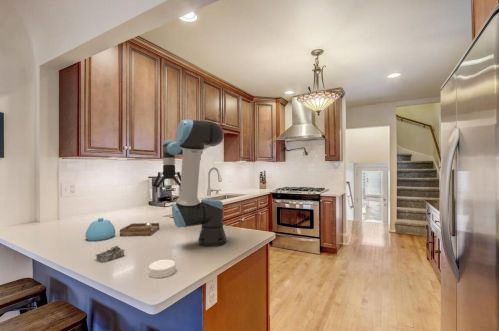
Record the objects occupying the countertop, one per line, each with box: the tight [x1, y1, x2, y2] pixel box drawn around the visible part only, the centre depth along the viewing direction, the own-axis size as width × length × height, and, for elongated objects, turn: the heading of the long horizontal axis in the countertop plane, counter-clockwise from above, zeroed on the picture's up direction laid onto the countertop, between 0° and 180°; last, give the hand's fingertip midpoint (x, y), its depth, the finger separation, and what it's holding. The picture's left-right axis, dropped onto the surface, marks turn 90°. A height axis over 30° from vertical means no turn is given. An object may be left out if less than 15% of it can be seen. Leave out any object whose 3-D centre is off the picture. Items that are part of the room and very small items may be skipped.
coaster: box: [148, 259, 177, 279], centre depth 96 cm, size 10×10×4 cm
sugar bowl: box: [84, 217, 116, 242], centre depth 144 cm, size 15×15×12 cm
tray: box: [119, 222, 160, 237], centre depth 155 cm, size 16×18×4 cm
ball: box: [145, 222, 152, 229], centre depth 155 cm, size 4×4×4 cm
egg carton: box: [95, 245, 126, 263], centre depth 112 cm, size 11×8×4 cm
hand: (169, 197), depth 159 cm, fingers open, 13 cm apart
